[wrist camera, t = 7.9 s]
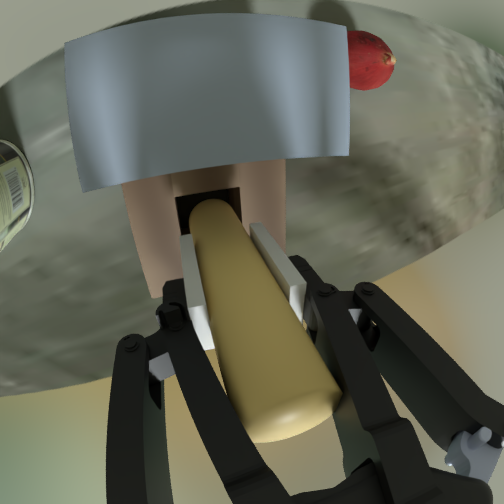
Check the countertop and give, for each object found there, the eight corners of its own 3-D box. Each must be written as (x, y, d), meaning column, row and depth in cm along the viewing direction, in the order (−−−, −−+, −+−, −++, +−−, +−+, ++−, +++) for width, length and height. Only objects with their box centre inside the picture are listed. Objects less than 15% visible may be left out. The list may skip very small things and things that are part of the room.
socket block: (153, 267, 27) (152, 298, 22) (127, 148, 20) (116, 158, 16) (267, 245, 29) (285, 271, 25) (263, 129, 23) (284, 135, 19)
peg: (185, 202, 20) (232, 411, 6) (233, 195, 20) (354, 372, 7) (192, 245, 21) (243, 450, 8) (237, 237, 22) (332, 421, 9)
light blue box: (127, 148, 20) (82, 192, 10) (119, 75, 17) (64, 42, 6) (263, 129, 23) (348, 155, 12) (259, 60, 20) (346, 26, 9)
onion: (304, 40, 19) (354, 23, 13) (351, 35, 20) (406, 24, 13) (322, 94, 23) (375, 96, 16) (366, 85, 23) (423, 88, 16)
